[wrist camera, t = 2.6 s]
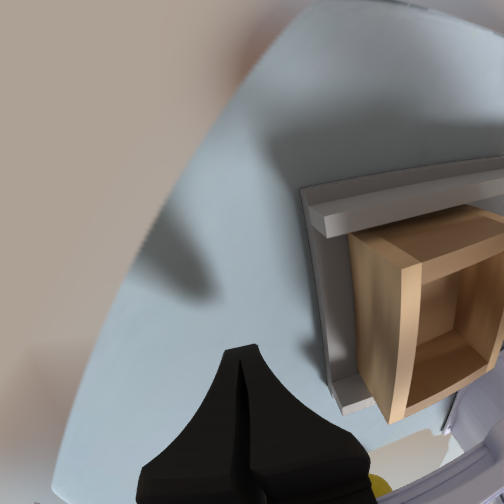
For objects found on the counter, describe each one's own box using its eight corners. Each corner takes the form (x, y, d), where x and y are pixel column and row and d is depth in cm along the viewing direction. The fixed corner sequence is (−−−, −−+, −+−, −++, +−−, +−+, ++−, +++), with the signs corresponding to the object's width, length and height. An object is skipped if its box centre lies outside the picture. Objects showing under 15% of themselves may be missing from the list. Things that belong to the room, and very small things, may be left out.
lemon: (327, 490, 23) (345, 550, 15) (325, 471, 21) (347, 541, 13) (376, 474, 23) (400, 529, 15) (381, 451, 21) (412, 516, 13)
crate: (459, 325, 15) (500, 362, 11) (356, 368, 15) (388, 425, 11) (468, 200, 12) (529, 221, 8) (347, 230, 12) (401, 269, 8)
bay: (510, 304, 17) (533, 320, 14) (327, 387, 17) (342, 421, 14) (521, 153, 13) (552, 159, 10) (299, 188, 13) (321, 199, 10)
